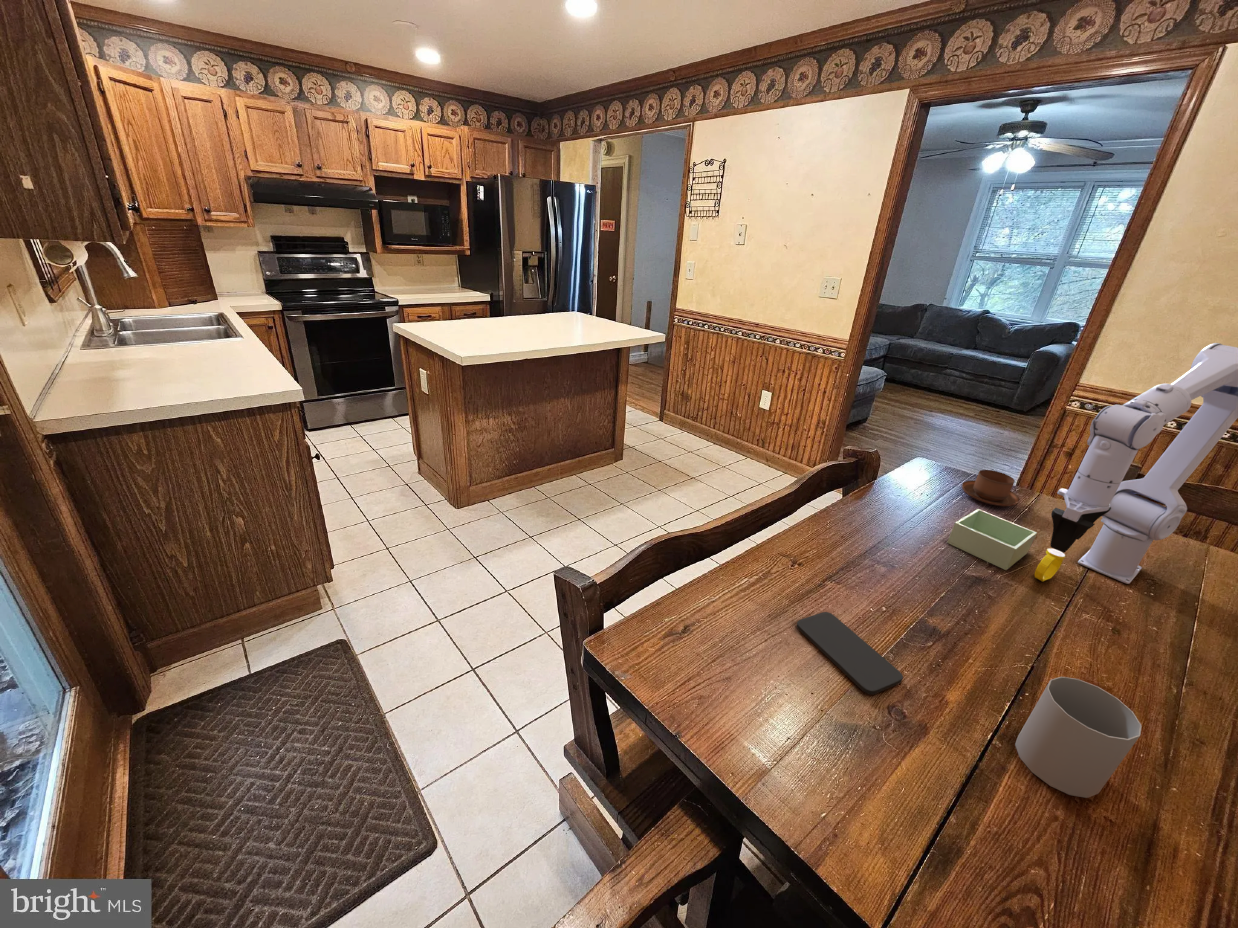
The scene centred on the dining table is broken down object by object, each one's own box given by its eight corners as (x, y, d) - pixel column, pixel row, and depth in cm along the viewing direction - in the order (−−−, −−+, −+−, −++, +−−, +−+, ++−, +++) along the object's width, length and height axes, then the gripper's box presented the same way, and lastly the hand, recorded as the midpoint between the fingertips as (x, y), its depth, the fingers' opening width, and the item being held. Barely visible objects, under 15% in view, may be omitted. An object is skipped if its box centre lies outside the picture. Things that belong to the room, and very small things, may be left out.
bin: (970, 528, 113) (978, 508, 111) (1027, 553, 105) (1037, 532, 103) (946, 542, 107) (954, 522, 105) (1005, 570, 99) (1015, 549, 97)
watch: (1042, 586, 95) (1055, 560, 93) (1026, 577, 97) (1038, 552, 95) (1059, 578, 98) (1072, 552, 95) (1043, 570, 100) (1055, 544, 97)
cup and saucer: (961, 482, 134) (969, 461, 132) (1016, 497, 128) (1026, 475, 126) (957, 499, 125) (966, 477, 123) (1016, 516, 119) (1027, 493, 117)
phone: (828, 610, 85) (907, 677, 73) (827, 614, 85) (905, 681, 73) (793, 621, 82) (869, 693, 70) (792, 625, 82) (868, 697, 70)
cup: (999, 733, 66) (1030, 677, 62) (1057, 730, 67) (1091, 675, 63) (1054, 799, 59) (1094, 741, 54) (1119, 795, 60) (1163, 738, 55)
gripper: (1083, 458, 94) (1052, 521, 99) (1056, 476, 86) (1024, 544, 91) (1133, 473, 88) (1098, 539, 94) (1109, 494, 81) (1072, 564, 86)
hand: (1065, 542), depth 93 cm, fingers open, 7 cm apart
